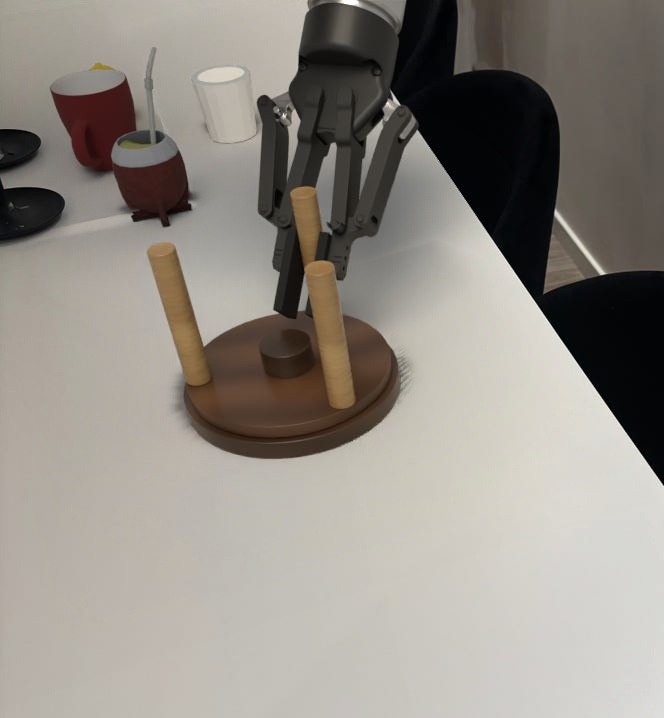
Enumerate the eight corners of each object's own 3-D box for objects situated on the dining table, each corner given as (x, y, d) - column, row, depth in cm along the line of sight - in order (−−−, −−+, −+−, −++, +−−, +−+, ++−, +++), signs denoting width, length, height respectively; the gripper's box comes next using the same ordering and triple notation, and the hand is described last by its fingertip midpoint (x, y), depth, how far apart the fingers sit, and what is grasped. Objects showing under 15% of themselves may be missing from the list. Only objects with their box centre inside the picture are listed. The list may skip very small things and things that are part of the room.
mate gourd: (133, 235, 99) (85, 84, 89) (124, 204, 104) (78, 58, 94) (205, 220, 101) (167, 70, 90) (193, 190, 106) (155, 45, 96)
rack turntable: (174, 348, 80) (132, 211, 72) (359, 304, 84) (339, 169, 76) (208, 460, 69) (164, 314, 61) (419, 403, 73) (404, 259, 65)
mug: (138, 195, 106) (110, 102, 99) (65, 199, 106) (32, 106, 99) (158, 156, 114) (134, 67, 107) (90, 159, 114) (62, 71, 107)
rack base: (173, 363, 81) (168, 347, 80) (365, 316, 86) (363, 301, 84) (208, 483, 70) (203, 467, 69) (429, 422, 74) (427, 406, 73)
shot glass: (242, 118, 121) (230, 59, 116) (272, 132, 117) (261, 72, 112) (194, 134, 118) (180, 75, 113) (224, 150, 114) (210, 88, 109)
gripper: (456, 53, 78) (404, 339, 78) (287, 43, 82) (238, 316, 82) (429, 1, 71) (372, 316, 71) (245, -7, 75) (191, 292, 74)
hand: (300, 316), depth 76 cm, fingers closed on rack turntable, 2 cm apart
